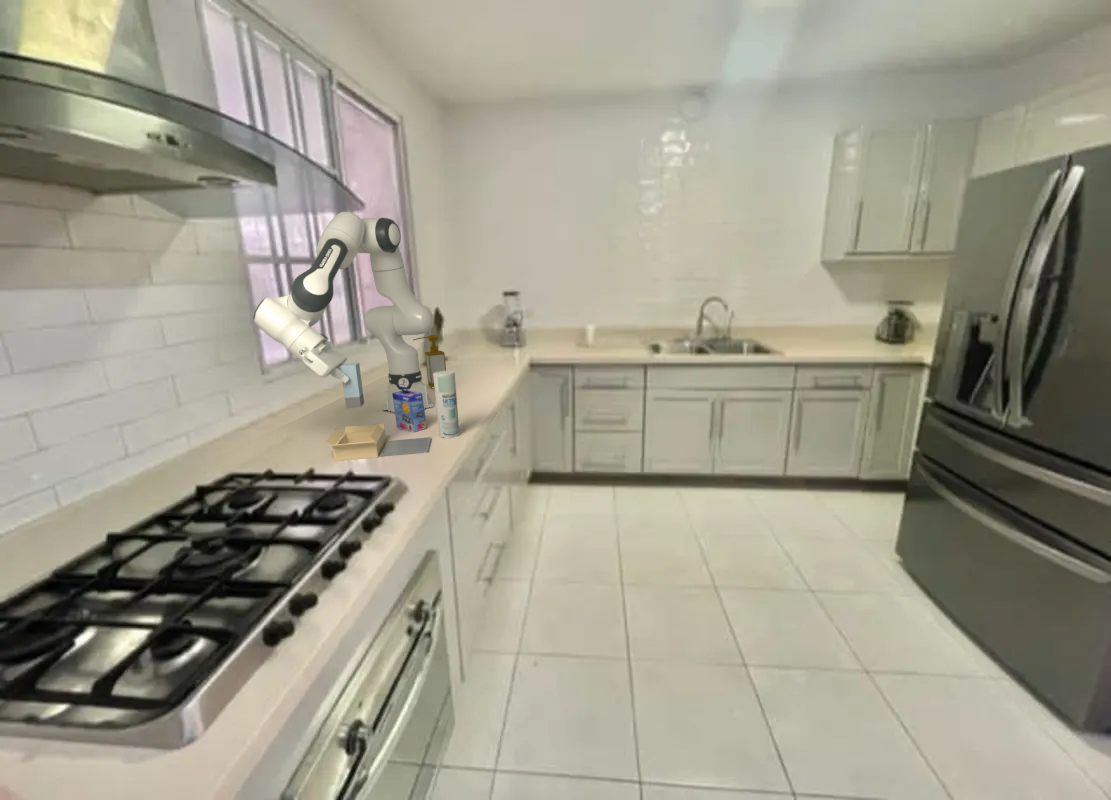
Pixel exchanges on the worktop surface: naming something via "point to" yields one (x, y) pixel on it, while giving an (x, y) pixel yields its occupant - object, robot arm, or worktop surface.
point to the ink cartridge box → (409, 410)
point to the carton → (357, 442)
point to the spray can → (446, 403)
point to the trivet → (406, 446)
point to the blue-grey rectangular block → (352, 385)
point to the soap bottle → (434, 359)
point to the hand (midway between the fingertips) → (350, 378)
